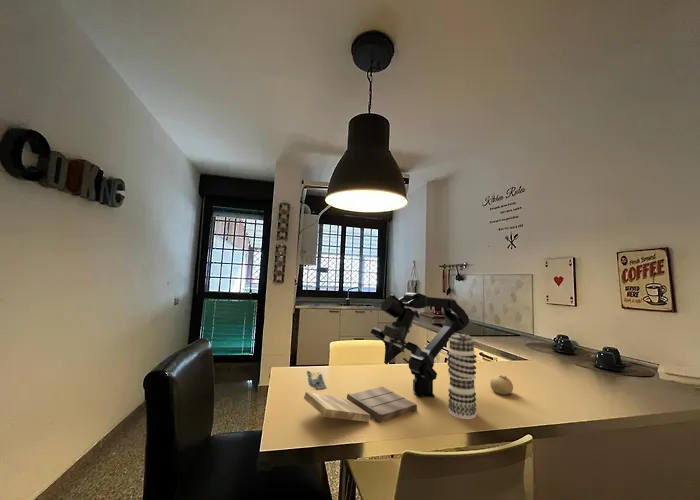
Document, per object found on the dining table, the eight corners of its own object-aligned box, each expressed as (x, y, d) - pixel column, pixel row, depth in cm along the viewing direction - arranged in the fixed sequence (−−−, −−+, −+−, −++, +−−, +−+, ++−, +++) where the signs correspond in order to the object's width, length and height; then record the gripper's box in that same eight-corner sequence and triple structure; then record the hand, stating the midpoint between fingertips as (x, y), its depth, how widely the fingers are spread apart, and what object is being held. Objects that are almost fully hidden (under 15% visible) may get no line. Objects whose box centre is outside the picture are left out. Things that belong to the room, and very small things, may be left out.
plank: (345, 398, 103) (305, 391, 95) (370, 414, 91) (326, 409, 83) (344, 404, 102) (303, 398, 94) (368, 421, 90) (324, 416, 83)
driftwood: (326, 391, 115) (326, 385, 115) (309, 392, 114) (309, 386, 114) (321, 374, 135) (321, 369, 136) (306, 374, 134) (306, 369, 134)
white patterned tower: (461, 422, 92) (461, 338, 94) (441, 409, 100) (441, 333, 102) (484, 417, 95) (482, 336, 97) (462, 405, 104) (461, 331, 106)
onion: (487, 392, 115) (486, 373, 116) (494, 387, 121) (493, 369, 122) (509, 398, 110) (509, 379, 111) (515, 392, 116) (515, 374, 116)
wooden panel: (382, 392, 114) (382, 385, 114) (416, 410, 99) (416, 403, 99) (346, 400, 105) (346, 393, 105) (378, 422, 90) (378, 414, 90)
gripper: (373, 307, 110) (355, 347, 105) (420, 325, 99) (401, 371, 94) (384, 317, 118) (367, 355, 114) (428, 335, 107) (411, 377, 103)
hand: (385, 363), depth 106 cm, fingers closed
